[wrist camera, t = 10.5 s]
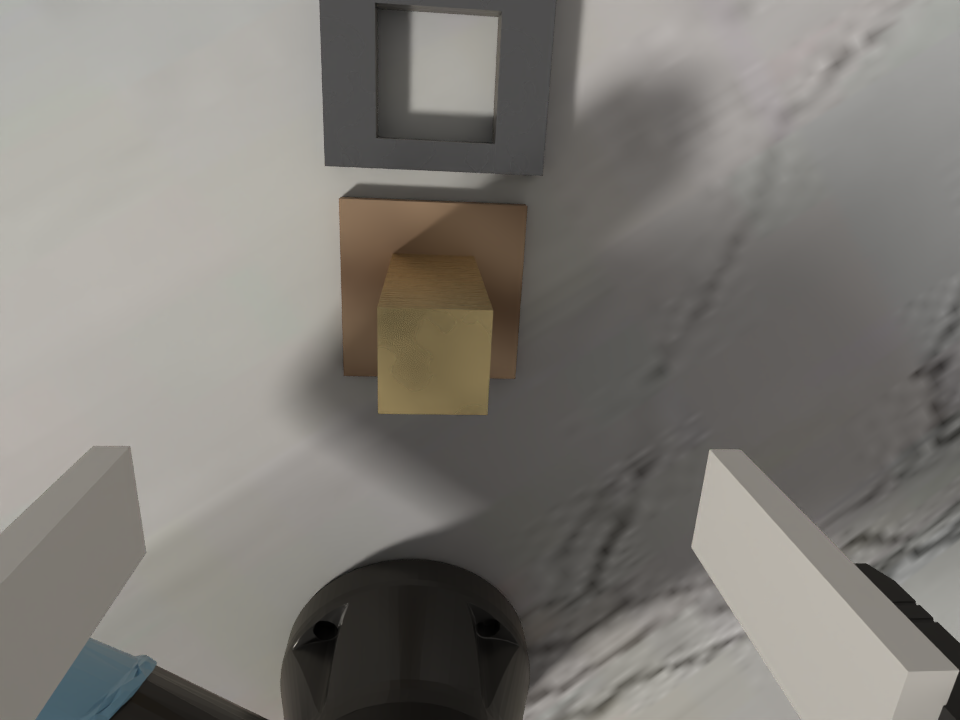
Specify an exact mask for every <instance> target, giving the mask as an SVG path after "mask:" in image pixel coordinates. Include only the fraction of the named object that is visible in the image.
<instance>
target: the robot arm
mask: <svg viewBox="0 0 960 720" xmlns="http://www.w3.org/2000/svg"><path fill="white" fill-rule="evenodd" d="M691 548H692V549H693V551H694V552H695V554H696V556H697V557H698V559H699V560H700V562H701V563H702V565H703V567H704V568H705V570H706V571H707V573H708V574H709V576H710V578H711V579H712V581H713V582H714V584H715V585H716V587H717V589H718V590H719V592H720V593H721V595H722V596H723V598H724V599H725V601H726V603H727V604H728V606H729V607H730V609H731V610H732V612H733V614H734V615H735V617H736V618H737V620H738V621H739V623H740V625H741V626H742V628H743V629H744V631H745V632H746V634H747V636H748V637H749V639H750V640H751V642H752V643H753V645H754V646H755V648H756V650H757V651H758V653H759V654H760V656H761V657H762V659H763V661H764V662H765V664H766V665H767V667H768V668H769V670H770V672H771V673H772V675H773V676H774V678H775V679H776V681H777V683H778V684H779V686H780V687H781V689H782V690H783V692H784V693H785V695H786V697H787V698H788V700H789V701H790V703H791V704H792V706H793V708H794V709H795V711H796V712H797V714H798V715H799V717H800V719H801V720H960V643H959V642H958V641H957V640H956V639H955V638H954V637H953V636H952V635H950V634H949V633H948V632H947V631H946V630H945V629H944V628H943V627H942V626H941V625H940V624H939V623H938V622H934V621H933V617H932V616H931V615H930V614H929V613H928V612H927V611H925V610H924V609H923V608H922V607H921V606H920V605H916V601H915V600H914V599H913V598H912V597H911V596H910V595H909V594H908V593H907V592H906V591H905V590H904V589H903V588H901V587H900V586H899V585H898V584H897V583H896V582H895V581H894V580H892V579H891V578H889V577H887V576H886V575H884V574H883V573H881V572H879V571H878V570H876V569H874V568H873V567H871V566H870V565H868V564H866V563H862V564H854V563H853V562H852V561H851V560H850V559H849V558H848V557H847V556H846V555H845V554H844V553H843V552H842V551H841V550H840V549H839V548H838V547H837V546H836V545H835V544H834V543H833V542H832V541H831V540H830V539H829V538H828V537H827V536H826V535H825V534H824V533H823V532H822V531H821V530H820V529H819V528H818V527H817V526H816V525H815V524H814V523H813V522H812V521H811V520H810V519H809V518H808V517H807V516H806V515H805V514H804V513H803V512H802V511H801V510H800V509H799V508H798V507H797V506H796V505H795V504H794V503H793V502H792V501H791V500H790V499H789V498H788V497H787V496H786V495H785V494H784V493H783V492H782V491H781V490H780V489H779V488H778V487H777V486H776V485H775V484H774V483H773V482H772V481H771V480H770V479H769V478H768V477H767V476H766V475H765V474H764V472H763V471H762V470H761V469H760V468H759V467H758V466H757V465H756V464H755V463H754V462H753V461H752V460H751V459H750V458H749V457H748V456H747V455H746V454H745V453H744V452H743V451H742V450H741V449H710V450H709V455H708V460H707V466H706V471H705V477H704V482H703V487H702V493H701V498H700V503H699V509H698V514H697V519H696V525H695V530H694V535H693V541H692V546H691ZM145 554H146V548H145V541H144V534H143V528H142V521H141V514H140V508H139V501H138V495H137V488H136V481H135V475H134V468H133V461H132V455H131V448H130V446H93V447H92V448H91V449H90V450H89V451H87V452H86V453H85V454H84V455H83V456H82V457H81V458H80V459H79V460H78V461H77V462H76V463H75V464H74V465H73V466H72V467H71V468H70V469H68V470H67V471H66V472H65V473H64V474H63V475H62V476H61V477H60V478H59V479H58V480H57V481H56V482H55V483H54V484H53V485H52V486H51V487H49V488H48V489H47V490H46V491H45V492H44V493H43V494H42V495H41V496H40V497H39V498H38V499H37V500H36V501H35V502H34V503H33V504H31V505H30V506H29V507H28V508H27V509H26V510H25V511H24V512H23V513H22V514H21V515H20V516H19V517H18V518H17V519H16V520H15V521H14V522H12V523H11V524H10V525H9V526H8V527H7V528H6V529H5V530H4V531H3V532H2V533H1V534H0V720H268V719H266V718H263V717H261V716H259V715H257V714H255V713H253V712H251V711H249V710H247V709H245V708H243V707H241V706H239V705H237V704H235V703H233V702H231V701H228V700H226V699H224V698H222V697H220V696H218V695H216V694H214V693H212V692H210V691H208V690H206V689H204V688H202V687H200V686H198V685H196V684H193V683H191V682H189V681H187V680H185V679H183V678H181V677H179V676H177V675H175V674H173V673H171V672H169V671H167V670H165V669H163V668H161V667H158V666H156V664H157V662H156V661H154V660H153V659H151V658H150V657H149V656H147V655H139V656H136V657H135V656H133V655H130V654H128V653H126V652H123V651H121V650H118V649H116V648H114V647H111V646H109V645H106V644H104V643H102V642H99V641H97V640H95V639H92V638H90V636H91V635H92V633H93V632H94V630H95V629H96V627H97V626H98V624H99V623H100V621H101V620H102V618H103V617H104V615H105V614H106V612H107V611H108V609H109V608H110V606H111V605H112V603H113V602H114V600H115V599H116V597H117V596H118V594H119V593H120V591H121V590H122V588H123V587H124V585H125V584H126V582H127V581H128V579H129V578H130V576H131V575H132V573H133V572H134V570H135V569H136V567H137V566H138V564H139V563H140V561H141V560H142V558H143V557H144V555H145ZM529 680H530V667H529V658H528V653H527V647H526V642H525V636H524V632H523V628H522V625H521V622H520V620H519V618H518V616H517V614H516V612H515V610H514V609H513V607H512V606H511V604H510V603H509V602H508V601H507V599H506V598H505V597H504V596H503V595H502V594H501V593H500V592H499V591H498V590H497V589H496V588H495V587H493V586H492V585H491V584H489V583H488V582H487V581H485V580H483V579H482V578H480V577H478V576H477V575H475V574H473V573H471V572H468V571H466V570H464V569H461V568H458V567H456V566H452V565H449V564H445V563H440V562H435V561H428V560H394V561H386V562H381V563H376V564H372V565H368V566H365V567H362V568H359V569H356V570H354V571H352V572H349V573H347V574H345V575H343V576H341V577H339V578H337V579H336V580H334V581H333V582H331V583H330V584H328V585H327V586H325V587H324V588H323V589H322V590H320V591H319V592H318V593H317V594H316V595H315V596H314V597H313V598H312V599H311V600H310V601H309V602H308V603H307V604H306V606H305V607H304V608H303V610H302V611H301V612H300V614H299V616H298V617H297V619H296V621H295V623H294V625H293V628H292V630H291V633H290V637H289V640H288V644H287V648H286V652H285V655H284V659H283V663H282V669H281V681H280V688H281V697H282V705H283V713H284V720H523V715H524V710H525V705H526V700H527V695H528V689H529Z"/></svg>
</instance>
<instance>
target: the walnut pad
mask: <svg viewBox="0 0 960 720" xmlns="http://www.w3.org/2000/svg"><path fill="white" fill-rule="evenodd" d="M339 216H340V254H341V292H342V329H343V367H344V376H378V343H377V307H378V303H379V300H380V296H381V293H382V289H383V286H384V282H385V279H386V275H387V272H388V268H389V265H390V261H391V258H392V254H393V253H395V254H425V255H455V256H474V257H475V260H476V263H477V266H478V269H479V271H480V274H481V277H482V280H483V283H484V286H485V288H486V291H487V294H488V297H489V300H490V303H491V305H492V308H493V324H492V342H491V360H490V377H489V378H498V379H515V374H516V360H517V346H518V332H519V318H520V304H521V290H522V276H523V262H524V247H525V233H526V219H527V206H526V205H525V204H503V203H479V202H454V201H430V200H405V199H381V198H356V197H340V198H339Z"/></svg>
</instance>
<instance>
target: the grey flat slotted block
mask: <svg viewBox="0 0 960 720" xmlns="http://www.w3.org/2000/svg"><path fill="white" fill-rule="evenodd" d="M319 2H320V32H321V62H322V93H323V123H324V153H325V166H339V167H361V168H383V169H405V170H428V171H450V172H472V173H495V174H517V175H539V176H543V163H544V150H545V138H546V125H547V112H548V99H549V86H550V73H551V61H552V48H553V35H554V22H555V9H556V0H319ZM378 9H388V10H403V11H418V12H433V13H449V14H464V15H479V16H494V17H499V19H498V38H497V58H496V77H495V97H494V116H493V136H492V143H478V142H458V141H438V140H417V139H397V138H378Z"/></svg>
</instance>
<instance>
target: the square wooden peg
mask: <svg viewBox="0 0 960 720" xmlns="http://www.w3.org/2000/svg"><path fill="white" fill-rule="evenodd" d="M492 324H493V308H492V305H491V303H490V300H489V297H488V294H487V291H486V288H485V286H484V283H483V280H482V277H481V274H480V271H479V269H478V266H477V263H476V260H475V257H474V256H455V255H425V254H395V253H393V254H392V258H391V261H390V265H389V268H388V272H387V275H386V279H385V282H384V286H383V289H382V293H381V296H380V300H379V303H378V307H377V343H378V414H443V415H487V413H488V395H489V377H490V360H491V342H492Z"/></svg>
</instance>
